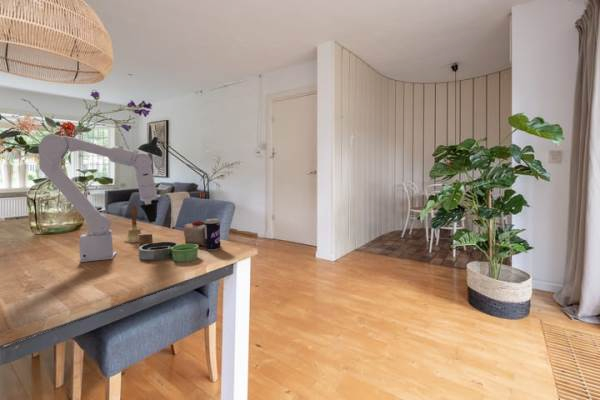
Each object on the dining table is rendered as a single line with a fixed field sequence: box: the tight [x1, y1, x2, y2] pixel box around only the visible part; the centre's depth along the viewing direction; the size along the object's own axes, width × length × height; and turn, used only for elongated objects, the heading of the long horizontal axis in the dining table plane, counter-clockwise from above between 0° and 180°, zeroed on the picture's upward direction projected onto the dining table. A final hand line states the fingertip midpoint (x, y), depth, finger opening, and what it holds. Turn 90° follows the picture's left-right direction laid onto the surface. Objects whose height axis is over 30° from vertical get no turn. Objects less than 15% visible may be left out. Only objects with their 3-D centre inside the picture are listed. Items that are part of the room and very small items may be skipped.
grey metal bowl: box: [138, 240, 179, 262], centre depth 107 cm, size 13×13×4 cm
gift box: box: [183, 219, 205, 247], centre depth 124 cm, size 14×8×10 cm, turn 60°
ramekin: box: [171, 243, 200, 263], centre depth 103 cm, size 9×9×4 cm
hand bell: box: [124, 204, 142, 244], centre depth 129 cm, size 8×8×16 cm
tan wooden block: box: [138, 232, 154, 248], centre depth 113 cm, size 4×2×6 cm, turn 113°
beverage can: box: [204, 217, 221, 252], centre depth 114 cm, size 6×6×12 cm
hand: (153, 220), depth 114 cm, fingers open, 7 cm apart
